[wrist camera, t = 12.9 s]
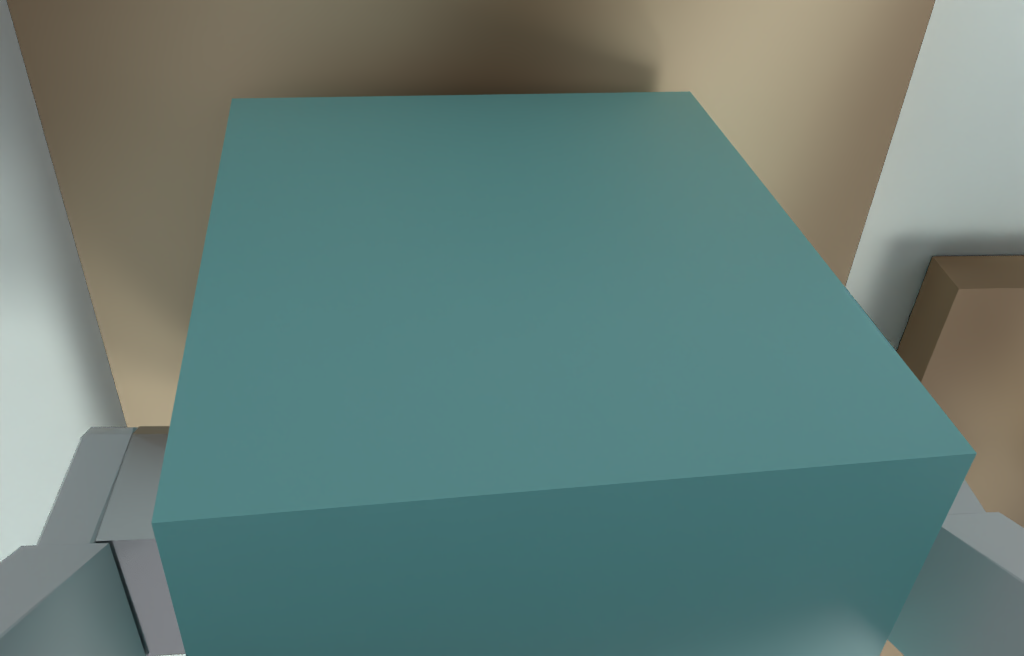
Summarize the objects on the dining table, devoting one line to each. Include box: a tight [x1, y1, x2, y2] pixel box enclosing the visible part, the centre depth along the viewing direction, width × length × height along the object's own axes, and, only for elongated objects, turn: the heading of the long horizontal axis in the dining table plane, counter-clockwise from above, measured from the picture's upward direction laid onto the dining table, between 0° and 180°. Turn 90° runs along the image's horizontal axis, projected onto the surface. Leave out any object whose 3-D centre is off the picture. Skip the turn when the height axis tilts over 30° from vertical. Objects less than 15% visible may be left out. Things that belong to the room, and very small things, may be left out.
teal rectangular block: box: [151, 91, 977, 656], centre depth 11 cm, size 6×6×7 cm
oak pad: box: [7, 0, 935, 427], centre depth 15 cm, size 12×12×1 cm
